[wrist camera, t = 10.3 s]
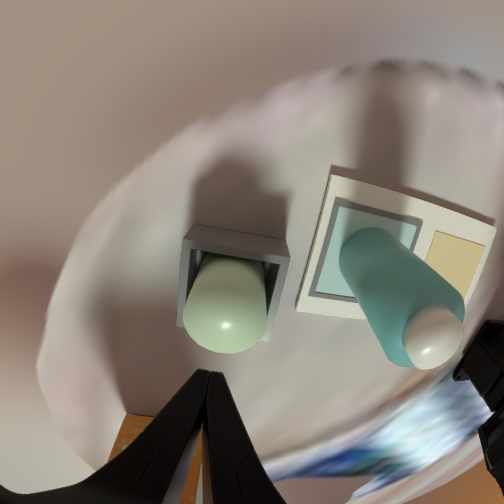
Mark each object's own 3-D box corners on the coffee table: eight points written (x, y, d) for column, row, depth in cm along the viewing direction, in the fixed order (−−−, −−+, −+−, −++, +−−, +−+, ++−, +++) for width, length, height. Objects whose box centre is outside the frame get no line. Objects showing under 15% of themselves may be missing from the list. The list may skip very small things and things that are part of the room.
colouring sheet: (493, 226, 15) (498, 228, 15) (453, 324, 18) (456, 328, 18) (330, 173, 14) (332, 174, 14) (295, 307, 17) (295, 311, 17)
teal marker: (404, 233, 15) (492, 302, 8) (386, 290, 16) (450, 380, 9) (347, 221, 15) (419, 294, 7) (331, 283, 16) (377, 385, 9)
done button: (270, 251, 16) (275, 293, 12) (257, 308, 17) (258, 358, 13) (203, 240, 16) (185, 277, 12) (196, 297, 17) (180, 345, 13)
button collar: (285, 240, 16) (290, 257, 14) (266, 317, 18) (268, 341, 16) (193, 223, 16) (183, 239, 13) (185, 303, 17) (176, 326, 15)
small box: (208, 417, 22) (189, 558, 10) (221, 451, 24) (211, 566, 12) (123, 411, 22) (82, 529, 10) (146, 446, 25) (120, 548, 12)
